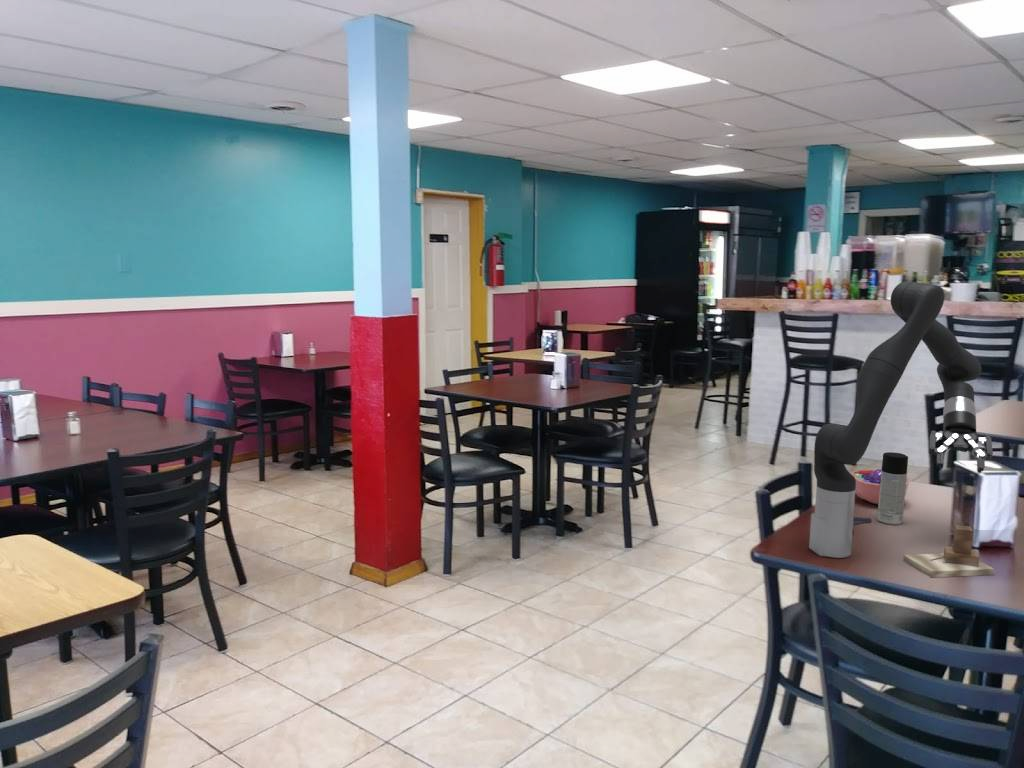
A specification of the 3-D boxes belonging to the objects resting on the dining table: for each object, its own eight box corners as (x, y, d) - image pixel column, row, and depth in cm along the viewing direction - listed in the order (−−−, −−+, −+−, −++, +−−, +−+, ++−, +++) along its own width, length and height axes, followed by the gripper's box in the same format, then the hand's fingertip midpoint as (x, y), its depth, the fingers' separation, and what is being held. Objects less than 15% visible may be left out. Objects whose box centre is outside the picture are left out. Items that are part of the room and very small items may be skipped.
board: (931, 577, 186) (931, 571, 186) (903, 560, 197) (903, 554, 196) (993, 574, 188) (994, 568, 188) (962, 558, 199) (962, 552, 198)
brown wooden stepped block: (945, 562, 191) (948, 528, 190) (943, 555, 196) (946, 522, 195) (978, 566, 189) (981, 532, 188) (975, 559, 193) (978, 526, 192)
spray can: (896, 518, 231) (901, 451, 228) (907, 525, 224) (912, 457, 221) (873, 517, 231) (878, 451, 228) (883, 525, 224) (888, 457, 221)
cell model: (911, 498, 251) (914, 464, 249) (904, 514, 234) (907, 478, 233) (854, 490, 260) (856, 457, 258) (843, 505, 243) (846, 470, 241)
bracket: (822, 534, 218) (823, 525, 217) (817, 518, 232) (817, 509, 231) (879, 540, 214) (879, 530, 213) (870, 523, 228) (870, 514, 228)
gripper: (931, 407, 208) (931, 457, 199) (993, 411, 203) (995, 464, 194) (927, 423, 214) (927, 473, 205) (987, 428, 208) (990, 480, 199)
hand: (960, 469), depth 199 cm, fingers open, 8 cm apart
